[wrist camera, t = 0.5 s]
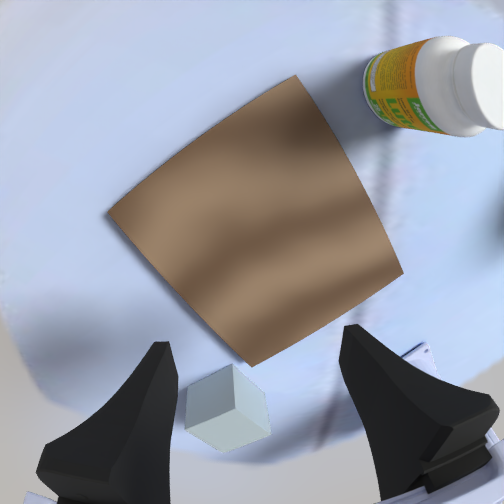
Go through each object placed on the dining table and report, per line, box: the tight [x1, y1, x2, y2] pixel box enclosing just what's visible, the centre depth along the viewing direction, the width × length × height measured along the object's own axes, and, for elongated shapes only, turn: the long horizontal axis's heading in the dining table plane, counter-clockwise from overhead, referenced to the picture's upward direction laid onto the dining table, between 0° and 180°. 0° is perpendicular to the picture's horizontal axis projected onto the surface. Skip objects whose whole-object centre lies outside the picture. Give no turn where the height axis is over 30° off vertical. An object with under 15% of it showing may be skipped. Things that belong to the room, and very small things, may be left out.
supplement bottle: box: [363, 36, 504, 137], centre depth 13 cm, size 5×5×10 cm
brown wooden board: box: [108, 75, 404, 367], centre depth 20 cm, size 16×14×1 cm
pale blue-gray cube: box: [185, 364, 272, 453], centre depth 24 cm, size 5×5×5 cm
